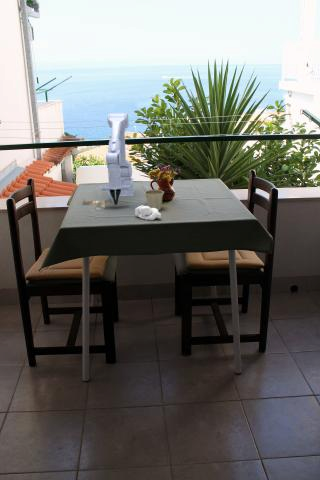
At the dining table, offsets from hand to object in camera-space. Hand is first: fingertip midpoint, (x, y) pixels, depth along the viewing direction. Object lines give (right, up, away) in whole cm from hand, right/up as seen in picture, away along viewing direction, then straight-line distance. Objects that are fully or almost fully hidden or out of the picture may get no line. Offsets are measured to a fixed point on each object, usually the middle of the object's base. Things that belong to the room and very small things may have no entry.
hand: (115, 204), depth 243 cm
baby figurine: (+16, -8, -14) cm, 23 cm away
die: (-7, -2, 0) cm, 8 cm away
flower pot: (+19, -3, -2) cm, 19 cm away
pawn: (-3, +2, +10) cm, 11 cm away
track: (-9, +1, +10) cm, 13 cm away
